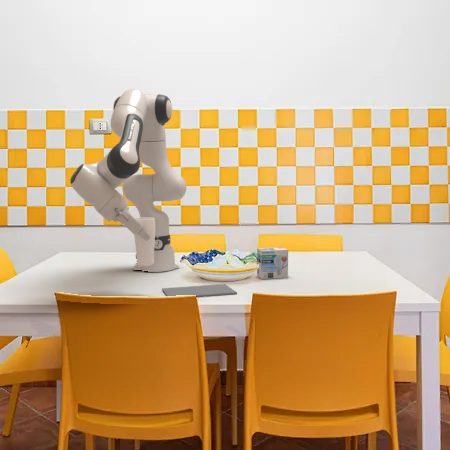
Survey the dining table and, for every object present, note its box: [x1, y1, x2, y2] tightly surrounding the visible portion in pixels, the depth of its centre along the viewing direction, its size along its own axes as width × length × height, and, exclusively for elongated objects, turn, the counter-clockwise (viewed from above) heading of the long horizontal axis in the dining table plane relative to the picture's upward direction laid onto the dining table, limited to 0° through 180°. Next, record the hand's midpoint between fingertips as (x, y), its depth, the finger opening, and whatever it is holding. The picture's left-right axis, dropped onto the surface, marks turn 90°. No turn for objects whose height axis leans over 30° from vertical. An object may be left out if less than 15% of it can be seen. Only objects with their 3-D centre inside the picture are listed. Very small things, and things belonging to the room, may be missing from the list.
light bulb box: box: [256, 246, 289, 280], centre depth 195 cm, size 11×7×11 cm, turn 101°
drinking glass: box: [133, 217, 155, 266], centre depth 166 cm, size 7×7×15 cm
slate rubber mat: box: [161, 283, 238, 298], centre depth 171 cm, size 14×22×1 cm, turn 106°
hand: (146, 237), depth 166 cm, fingers closed on drinking glass, 6 cm apart
